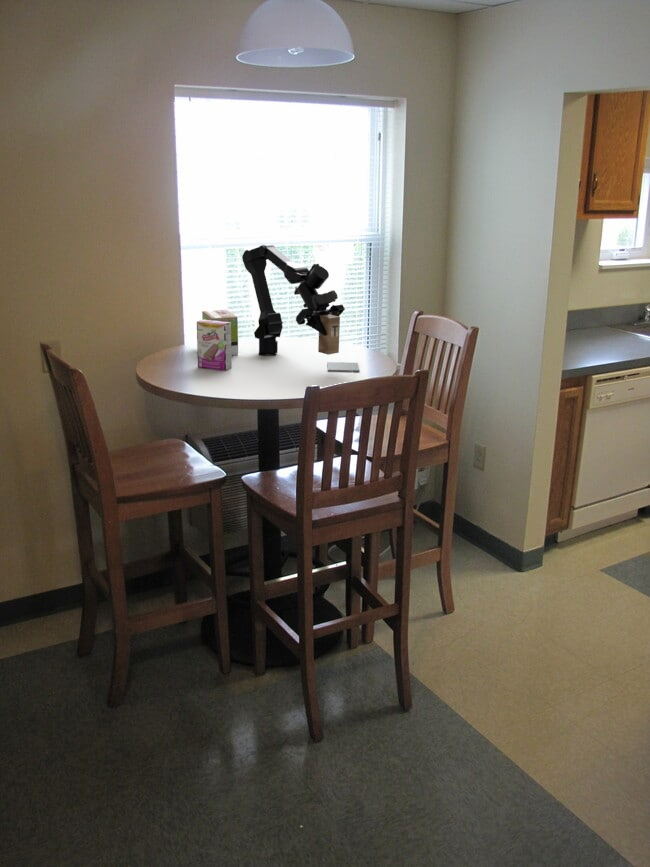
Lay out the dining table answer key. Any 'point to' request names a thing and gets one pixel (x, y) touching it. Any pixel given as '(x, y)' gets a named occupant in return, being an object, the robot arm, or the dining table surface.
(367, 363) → the dining table surface
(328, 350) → the letter block
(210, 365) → the candy bar box
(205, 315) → the tea box
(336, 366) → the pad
